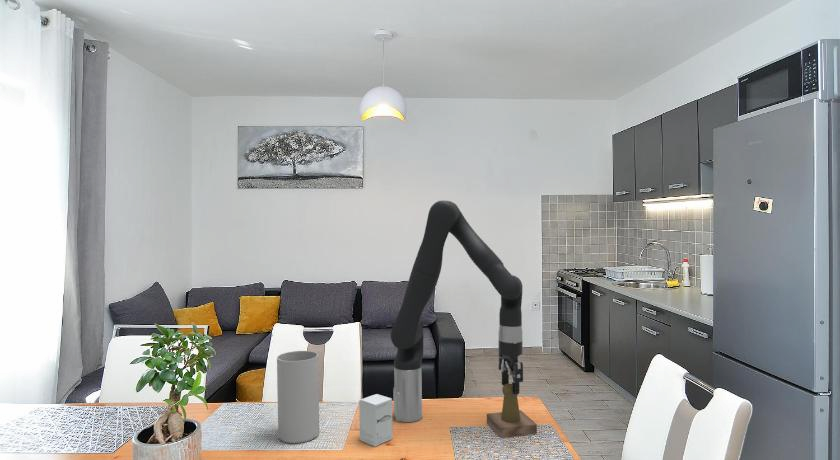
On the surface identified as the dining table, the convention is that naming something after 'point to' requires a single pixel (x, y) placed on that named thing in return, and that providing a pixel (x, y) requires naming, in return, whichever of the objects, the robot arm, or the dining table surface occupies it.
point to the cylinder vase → (298, 396)
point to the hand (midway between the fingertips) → (510, 389)
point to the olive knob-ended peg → (510, 405)
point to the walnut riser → (511, 425)
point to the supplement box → (375, 419)
